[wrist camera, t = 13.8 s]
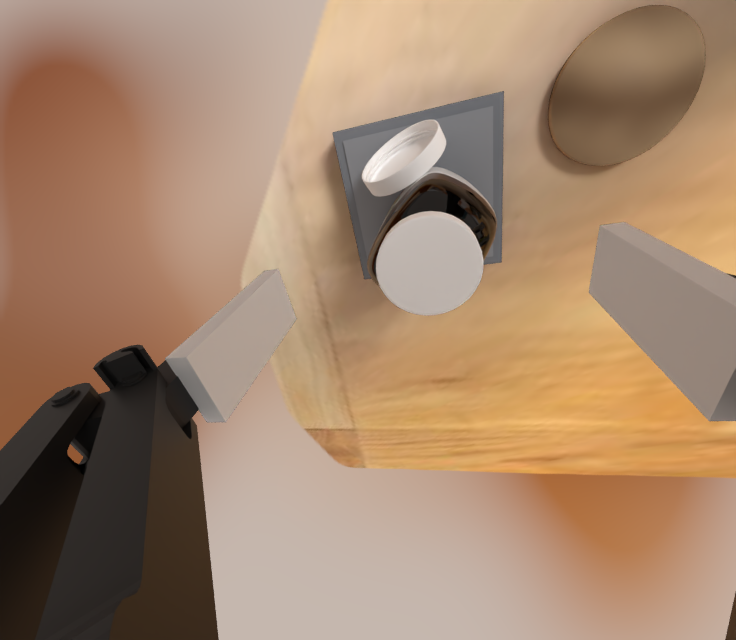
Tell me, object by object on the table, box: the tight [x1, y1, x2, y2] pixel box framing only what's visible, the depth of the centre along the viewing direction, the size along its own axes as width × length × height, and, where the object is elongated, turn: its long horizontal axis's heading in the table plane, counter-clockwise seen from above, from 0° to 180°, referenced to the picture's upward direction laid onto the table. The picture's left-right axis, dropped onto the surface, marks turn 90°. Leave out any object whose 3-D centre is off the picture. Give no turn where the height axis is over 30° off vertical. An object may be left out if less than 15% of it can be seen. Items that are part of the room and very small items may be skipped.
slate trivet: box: [333, 91, 504, 279], centre depth 30 cm, size 14×14×3 cm
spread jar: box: [362, 119, 497, 316], centre depth 24 cm, size 12×11×12 cm
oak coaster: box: [548, 5, 706, 166], centre depth 25 cm, size 10×10×1 cm
